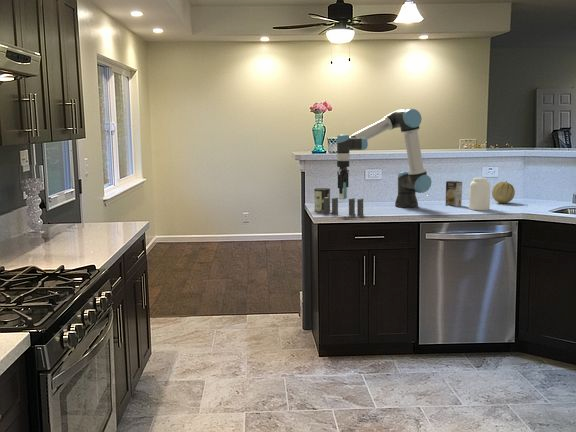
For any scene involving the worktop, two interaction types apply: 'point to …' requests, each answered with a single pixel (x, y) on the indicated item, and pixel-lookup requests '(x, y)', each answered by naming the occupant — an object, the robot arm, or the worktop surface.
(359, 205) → the domino
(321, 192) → the coffee can
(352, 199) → the domino
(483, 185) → the cream jar
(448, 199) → the coffee box
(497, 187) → the cantaloupe
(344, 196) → the teal domino
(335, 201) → the domino
